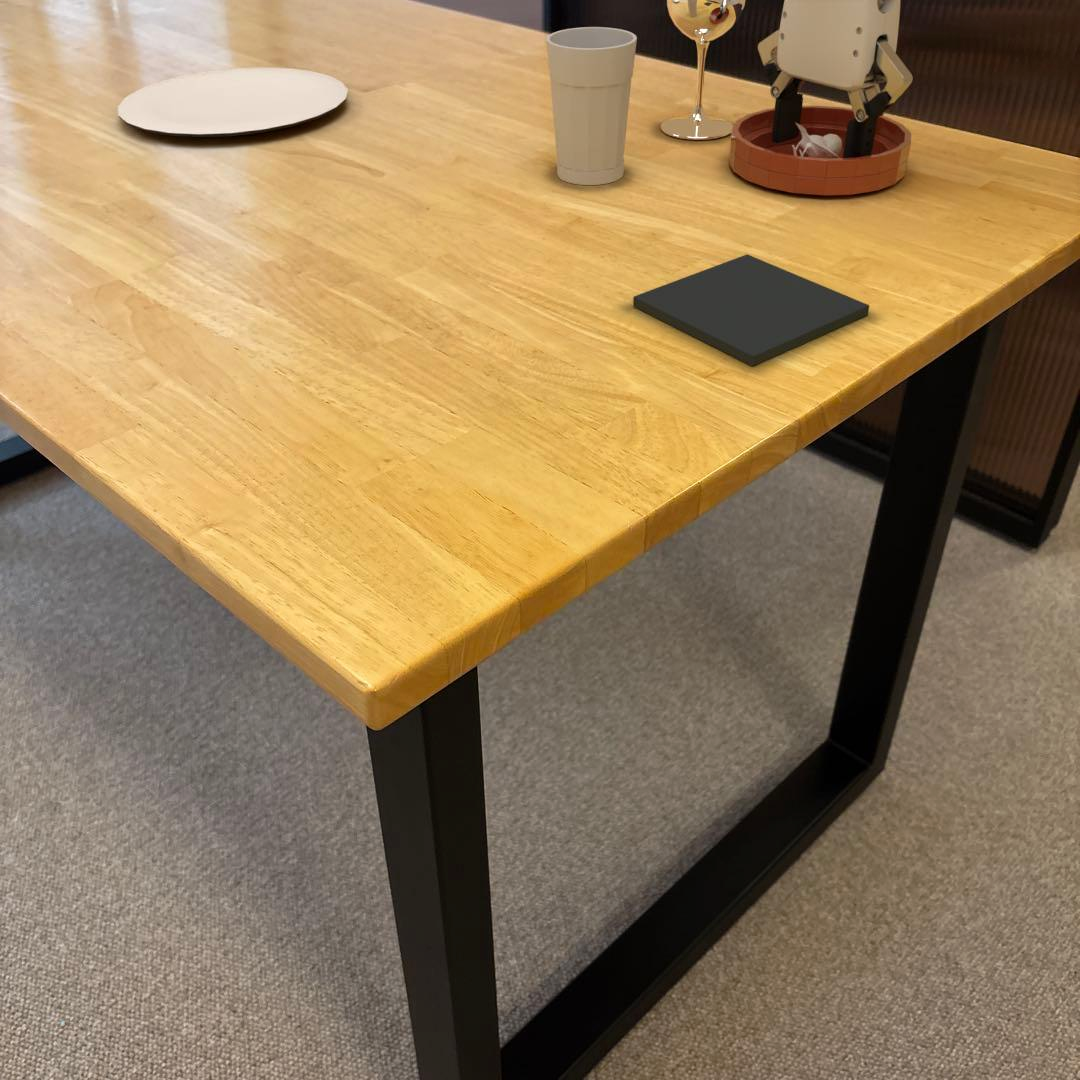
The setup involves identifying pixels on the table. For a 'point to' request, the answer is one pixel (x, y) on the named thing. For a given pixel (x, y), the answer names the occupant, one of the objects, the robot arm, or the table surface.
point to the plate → (232, 102)
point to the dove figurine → (819, 145)
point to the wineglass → (701, 60)
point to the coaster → (750, 308)
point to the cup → (590, 101)
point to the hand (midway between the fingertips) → (819, 150)
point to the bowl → (817, 175)
